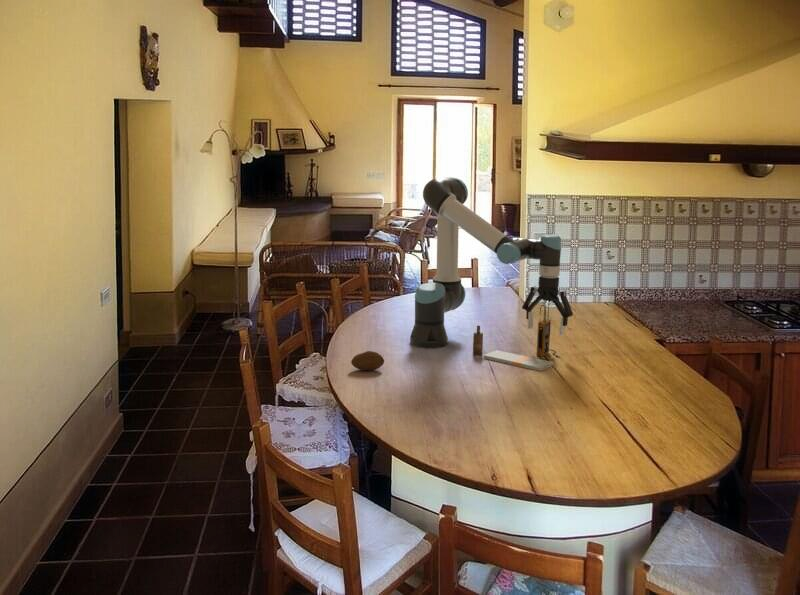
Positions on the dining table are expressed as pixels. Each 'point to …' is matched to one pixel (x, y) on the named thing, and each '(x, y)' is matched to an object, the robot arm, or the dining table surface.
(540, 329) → the multimeter
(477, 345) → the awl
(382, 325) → the dining table surface
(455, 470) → the dining table surface
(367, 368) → the potato
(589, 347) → the dining table surface
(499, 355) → the panel
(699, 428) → the dining table surface
